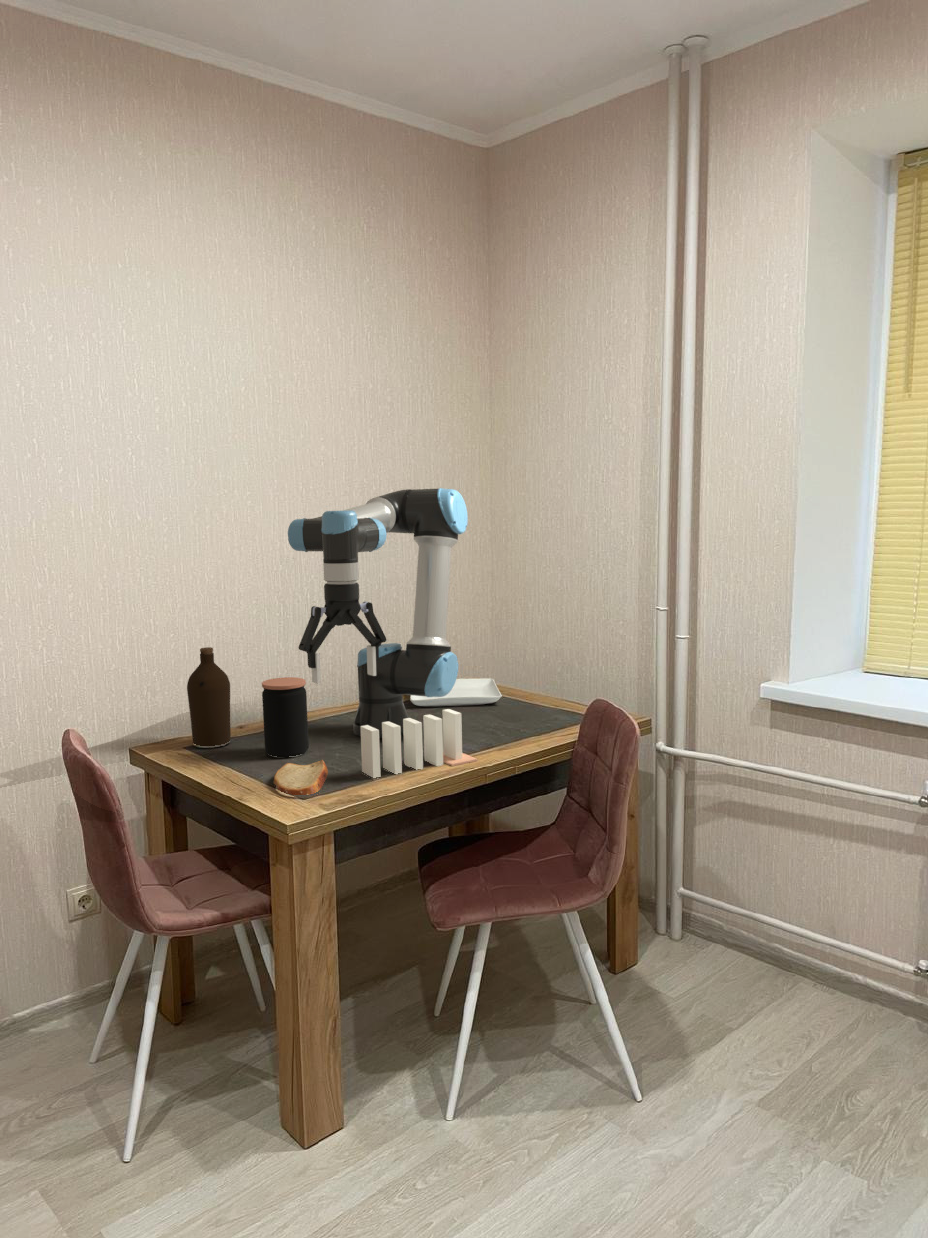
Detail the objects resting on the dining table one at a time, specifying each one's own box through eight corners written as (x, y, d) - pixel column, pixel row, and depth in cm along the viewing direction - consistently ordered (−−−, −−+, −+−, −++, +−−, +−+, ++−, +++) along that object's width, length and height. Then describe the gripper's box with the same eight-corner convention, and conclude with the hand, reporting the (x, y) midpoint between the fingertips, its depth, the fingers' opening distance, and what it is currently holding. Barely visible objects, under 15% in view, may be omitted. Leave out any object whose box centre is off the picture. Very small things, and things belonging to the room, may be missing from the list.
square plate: (493, 688, 304) (493, 676, 303) (502, 708, 277) (502, 695, 276) (409, 691, 302) (408, 679, 301) (410, 711, 275) (410, 698, 274)
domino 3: (416, 770, 216) (415, 723, 214) (404, 764, 220) (403, 719, 219) (423, 769, 217) (421, 722, 215) (411, 763, 221) (409, 717, 220)
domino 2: (395, 774, 213) (393, 727, 211) (383, 768, 218) (381, 722, 216) (401, 773, 214) (400, 726, 212) (390, 767, 218) (388, 721, 217)
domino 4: (436, 766, 219) (435, 720, 217) (424, 760, 223) (423, 715, 222) (443, 765, 220) (442, 719, 218) (431, 759, 224) (429, 714, 223)
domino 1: (373, 779, 210) (371, 731, 208) (362, 773, 215) (360, 726, 213) (380, 777, 211) (379, 730, 209) (369, 771, 216) (367, 725, 214)
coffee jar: (317, 750, 234) (314, 679, 232) (289, 761, 225) (285, 687, 223) (285, 745, 240) (281, 675, 237) (255, 755, 230) (252, 683, 228)
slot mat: (452, 766, 218) (452, 764, 218) (430, 756, 227) (430, 754, 227) (477, 761, 222) (477, 759, 222) (454, 751, 230) (454, 749, 230)
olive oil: (237, 746, 240) (232, 649, 236) (195, 752, 235) (189, 653, 231) (227, 736, 249) (222, 643, 245) (186, 742, 244) (180, 647, 241)
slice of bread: (303, 802, 196) (302, 785, 196) (246, 787, 207) (246, 770, 207) (362, 780, 210) (362, 764, 210) (307, 767, 221) (306, 752, 221)
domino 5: (455, 760, 222) (454, 714, 220) (443, 754, 226) (442, 709, 225) (462, 758, 223) (461, 713, 221) (449, 753, 227) (448, 708, 226)
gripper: (382, 577, 214) (385, 669, 216) (280, 584, 200) (284, 683, 202) (399, 579, 207) (402, 674, 210) (295, 587, 193) (299, 688, 196)
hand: (344, 678), depth 206 cm, fingers open, 13 cm apart
